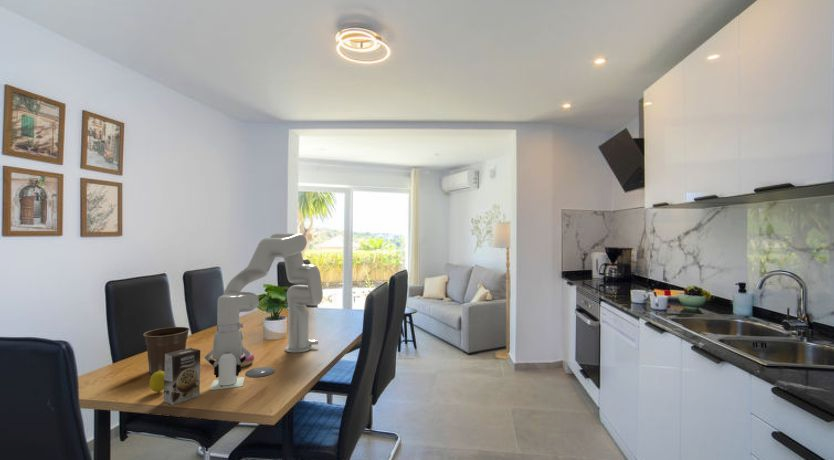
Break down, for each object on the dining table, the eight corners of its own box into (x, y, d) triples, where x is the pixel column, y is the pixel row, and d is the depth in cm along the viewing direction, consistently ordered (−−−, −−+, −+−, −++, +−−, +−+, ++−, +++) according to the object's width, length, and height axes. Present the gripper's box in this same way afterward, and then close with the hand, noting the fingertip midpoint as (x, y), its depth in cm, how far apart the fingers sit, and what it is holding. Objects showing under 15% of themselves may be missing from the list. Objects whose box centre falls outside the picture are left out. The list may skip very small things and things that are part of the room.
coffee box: (172, 405, 129) (173, 356, 129) (163, 401, 132) (163, 353, 132) (200, 396, 136) (201, 349, 137) (190, 392, 140) (191, 346, 140)
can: (240, 380, 151) (241, 348, 151) (231, 386, 144) (231, 353, 145) (224, 379, 151) (225, 348, 152) (214, 385, 145) (215, 353, 145)
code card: (244, 377, 154) (244, 376, 154) (242, 386, 145) (242, 386, 145) (213, 380, 151) (213, 379, 151) (209, 390, 141) (209, 389, 141)
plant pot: (132, 374, 157) (133, 333, 158) (170, 361, 173) (171, 325, 173) (161, 379, 152) (162, 337, 152) (198, 366, 167) (198, 328, 167)
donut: (260, 362, 174) (260, 350, 174) (238, 371, 161) (238, 359, 161) (236, 358, 178) (236, 347, 178) (212, 368, 165) (212, 356, 165)
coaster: (274, 366, 167) (274, 365, 167) (274, 375, 157) (274, 374, 157) (246, 369, 163) (246, 368, 163) (244, 378, 153) (244, 377, 153)
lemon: (155, 390, 141) (155, 367, 141) (171, 389, 142) (171, 367, 142) (145, 396, 136) (146, 373, 136) (162, 395, 136) (162, 372, 136)
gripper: (253, 324, 154) (253, 370, 154) (204, 327, 149) (203, 374, 149) (252, 328, 147) (251, 376, 147) (200, 331, 142) (199, 381, 142)
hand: (227, 375), depth 148 cm, fingers closed on can, 6 cm apart
